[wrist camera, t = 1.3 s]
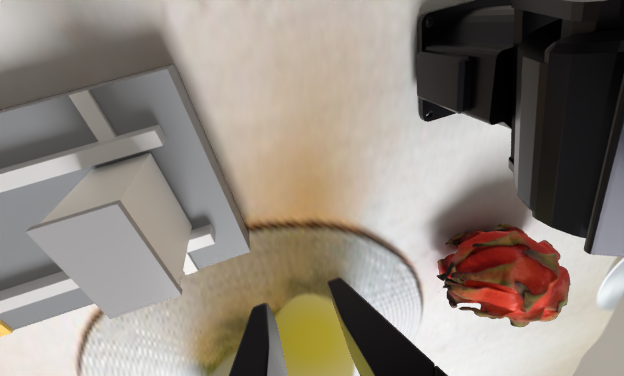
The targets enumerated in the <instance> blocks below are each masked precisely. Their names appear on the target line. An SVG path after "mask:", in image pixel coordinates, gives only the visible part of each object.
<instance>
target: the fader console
mask: <svg viewBox="0 0 624 376" xmlns="http://www.w3.org/2000/svg"><path fill="white" fill-rule="evenodd" d="M148 153H151V155H152V157H153V158H154V160H155V162H156V164H157V165H158V167H159V169H160V171H161V172H162V174H163V176H164V178H165V179H166V181H167V183H168V185H169V187H170V188H171V190H172V192H173V194H174V195H175V197H176V199H177V201H178V202H179V204H180V206H181V208H182V210H183V211H184V213H185V215H186V217H187V218H188V220H189V222H190V224H191V225H192V228H191V233H190V238H189V243H188V248H187V253H186V258H185V263H184V268H183V273H182V274H186V275H188V274H191V273H194V272H197V271H198V269H200V268H203V267H206V266H209V265H212V264H215V263H218V262H221V261H224V260H227V259H230V258H233V257H236V256H239V255H242V254H245V253H248V252H250V241H249V233H248V230H247V228H246V226H245V224H244V221H243V219H242V217H241V214H240V212H239V210H238V208H237V205H236V203H235V201H234V199H233V196H232V194H231V192H230V189H229V187H228V185H227V183H226V180H225V178H224V176H223V173H222V171H221V169H220V167H219V164H218V162H217V160H216V157H215V155H214V153H213V151H212V148H211V146H210V144H209V141H208V139H207V137H206V135H205V132H204V130H203V128H202V126H201V123H200V121H199V119H198V116H197V114H196V112H195V110H194V107H193V105H192V103H191V100H190V98H189V96H188V94H187V91H186V89H185V87H184V84H183V82H182V80H181V78H180V75H179V73H178V71H177V68H176V66H175V64H172V65H168V66H164V67H160V68H156V69H153V70H149V71H145V72H141V73H138V74H134V75H130V76H126V77H123V78H119V79H115V80H111V81H107V82H104V83H100V84H96V85H92V86H89V87H85V88H81V89H77V90H74V91H70V92H66V93H62V94H58V95H55V96H51V97H47V98H43V99H40V100H36V101H32V102H28V103H25V104H21V105H17V106H13V107H9V108H6V109H2V110H0V337H1V336H4V335H7V334H10V333H12V332H13V330H15V329H18V328H21V327H24V326H27V325H30V324H33V323H36V322H39V321H42V320H45V319H48V318H51V317H55V316H58V315H61V314H64V313H67V312H70V311H73V310H76V309H79V308H82V307H85V306H88V305H91V304H94V302H93V301H92V300H91V299H90V298H89V297H88V296H87V295H86V294H85V293H84V292H83V291H82V290H81V288H80V287H79V286H78V285H77V284H76V283H75V282H74V281H73V280H72V279H71V278H70V277H69V276H68V275H67V274H66V273H65V272H64V271H63V270H62V269H61V268H60V267H59V266H58V265H57V264H56V263H55V262H54V261H53V260H52V259H51V258H50V257H49V256H48V255H47V254H46V253H45V252H44V251H43V250H42V248H41V247H40V246H39V245H38V244H37V243H36V242H35V241H34V240H33V239H32V238H31V237H30V236H29V235H28V234H27V233H26V231H27V230H28V229H29V228H30V227H31V226H35V225H38V224H40V222H41V221H42V220H43V219H44V218H45V217H46V216H47V215H48V214H49V213H50V212H51V211H52V210H53V209H54V208H55V207H56V206H57V205H58V204H59V203H60V202H61V201H62V200H63V199H64V198H65V197H66V195H67V194H68V193H69V192H70V191H71V190H72V189H73V188H74V187H75V186H76V185H77V184H78V183H79V182H80V181H81V180H82V179H83V178H84V177H85V176H86V175H87V174H88V173H89V172H90V171H91V170H92V169H96V168H99V167H103V166H106V165H110V164H113V163H117V162H120V161H123V160H127V159H130V158H134V157H137V156H141V155H144V154H148Z"/></svg>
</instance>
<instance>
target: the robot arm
mask: <svg viewBox="0 0 624 376" xmlns="http://www.w3.org/2000/svg"><path fill="white" fill-rule="evenodd" d="M427 18H429V21H430V22H429V25H428V26H426V24H425V23H426V20H427ZM416 59H417V95H418V97H419V115H420V118H421V119H422V120H424V121H427V122H428V121H432V120H436V119H439V118H442V117H445V116H449V115H452V114H455V113H458V114H461V113H463V114H465V115H468V116H470V117H473V118H475V119H478V120H481V121H483V122H486V123H488V124H491V125H495V124H499V125H502V126H505V127H507V128H510V129H512V132H511V157H509V168H510V169H511V171H512V172H513V173H514V186H515V189H516V193H517V196H518V197H519V198H520V199H521V200H522V201H523V202H524V203H525V204H526V205H527V206H528V208H529V209H531V210H532V216H533V217H534V218H535V219H537V220H539V221H541V222H543V223H544V224H546V225H548V226H550V227H552V228H555V229H557V230H560V231H563V232H566V233H568V234H571V235H574V236H578V237H582V238H586V241H585V246H584V251H585V252H587V253H589V254H593V255H606V256H619V257H624V0H470V1H467V2H463V3H459V4H456V5H452V6H448V7H445V8H441V9H437V10H433V11H430V12H426V13H424V14H422V15H421V16H420V18H419V20H418V55H417V57H416ZM428 111H430V113H429V115H428V116H426V113H427V112H428ZM327 284H328V288H329V291H330V295H331V298H332V302H333V305H334V308H335V310H336V314H337V316H338V319H339V322H340V325H341V328H342V331H343V334H344V337H345V340H346V343H347V346H348V349H349V351H350V354H351V357H352V359H353V361H354V363H355V366H356V368H357V370H358V372H359V374H360V376H448V375H447V374H445V373H444V372H443V371H442V370H441V369H440V368H439V367H438V366H435V365H434V363H433V362H432V361H431V360H430V359H429V358H428V357H427V356H426V355H425V354H424V353H422V352H421V351H420V350H419V349H418V348H417V347H416V346H415V345H414V344H413V343H412V342H410V341H409V340H408V339H407V338H406V337H405V336H404V335H403V334H402V333H401V332H400V331H399V330H397V329H396V328H395V327H394V326H393V325H392V324H391V323H390V322H389V321H388V320H387V319H385V318H384V317H383V316H382V315H381V314H380V313H379V312H378V311H377V310H376V309H375V308H373V307H372V306H371V305H370V304H369V303H368V302H367V301H366V300H365V299H364V298H363V297H362V296H360V295H359V294H358V293H357V292H356V291H355V290H354V289H353V288H352V287H351V286H350V285H348V284H347V283H346V282H345V281H344V280H343V279H342V278H340V277H337V278H334V279H331V280H329V281H328V282H327ZM229 376H288V375H287V370H286V365H285V360H284V355H283V351H282V346H281V342H280V337H279V332H278V327H277V323H276V320H275V318H274V316H273V313H272V311H271V309H270V307H269V305H268V304H267V303H263V304H260V305H257V306H255V307H253V309H252V311H251V314H250V317H249V320H248V322H247V325H246V328H245V331H244V334H243V337H242V339H241V342H240V345H239V348H238V351H237V354H236V357H235V359H234V362H233V365H232V368H231V371H230V373H229Z"/></svg>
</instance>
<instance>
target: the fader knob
mask: <svg viewBox="0 0 624 376" xmlns="http://www.w3.org/2000/svg"><path fill="white" fill-rule="evenodd" d="M191 228H192V225H191V224H190V222H189V220H188V218H187V217H186V215H185V213H184V211H183V210H182V208H181V206H180V204H179V202H178V201H177V199H176V197H175V195H174V194H173V192H172V190H171V188H170V187H169V185H168V183H167V181H166V179H165V178H164V176H163V174H162V172H161V171H160V169H159V167H158V165H157V164H156V162H155V160H154V158H153V157H152V155H151V153H148V154H144V155H141V156H137V157H134V158H130V159H127V160H123V161H120V162H117V163H113V164H110V165H106V166H103V167H99V168H96V169H92V170H91V171H90V172H89V173H88V174H87V175H86V176H85V177H84V178H83V179H82V180H81V181H80V182H79V183H78V184H77V185H76V186H75V187H74V188H73V189H72V190H71V191H70V192H69V193H68V194H67V195H66V197H65V198H64V199H63V200H62V201H61V202H60V203H59V204H58V205H57V206H56V207H55V208H54V209H53V210H52V211H51V212H50V213H49V214H48V215H47V216H46V217H45V218H44V219H43V220H42V221H41V222H40V224H38V225H35V226H31V227H30V228H29V229H28V230H27V231H26V233H27V234H28V235H29V236H30V237H31V238H32V239H33V240H34V241H35V242H36V243H37V244H38V245H39V246H40V247H41V248H42V250H43V251H44V252H45V253H46V254H47V255H48V256H49V257H50V258H51V259H52V260H53V261H54V262H55V263H56V264H57V265H58V266H59V267H60V268H61V269H62V270H63V271H64V272H65V273H66V274H67V275H68V276H69V277H70V278H71V279H72V280H73V281H74V282H75V283H76V284H77V285H78V286H79V287H80V288H81V290H82V291H83V292H84V293H85V294H86V295H87V296H88V297H89V298H90V299H91V300H92V301H93V302H94V303H95V304H96V305H97V306H98V307H99V308H100V309H101V310H102V311H103V312H104V313H105V314H106V315H107V316H108V317H109V318H110V319H112V318H115V317H118V316H121V315H124V314H127V313H130V312H133V311H136V310H138V309H141V308H144V307H147V306H150V305H153V304H156V303H159V302H162V301H165V300H168V299H171V298H174V297H177V296H180V295H181V294H182V289H181V287H180V283H181V278H182V273H183V268H184V263H185V258H186V253H187V248H188V243H189V238H190V233H191Z"/></svg>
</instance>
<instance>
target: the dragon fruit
mask: <svg viewBox="0 0 624 376" xmlns="http://www.w3.org/2000/svg"><path fill="white" fill-rule="evenodd" d="M502 225H503V226H502ZM446 244H454V245H456V246H458V250H457V252H456V254H450V255H448V256H447V257H446V258H445V259H442V260H438V269H439V274H440V275H437V277H438V278H439V279H441V280H442V281H444V280H445V286H443V288H448V290H447V299H448V300H449V304H450V306H451V307H452V308H456V307H457V304H458V303H479V304H481V309H480V310H479V309H477V308H471V307H461V308H459V309H460V310H472V311H474V313H475V314H476V315H477V316H480V317H489V318H491V319H496V318H498V319H501V318H504V317H508V318H509V319H510V322H511V325H512V326H516V327H524V326H526V325H528V324H529V322H530V321H542V322H546V321H551V320H553V319H556V318H557V316H558V315H559V313H560V312H561V308H562V307H563V306H565V305H567V301H568V292H569V286H570V277H569V273H568V271H567V269H566V268H564V267H562V266H559V263H558V260H559V259H560V254H559V253H558V251H556V250H555V249H554V248H553V246H552V245H551V244H549V243H548V242H547V241H546V240H544V241H541V242H539V243H537V242H536V241H534V240H533V239H531V238H530V237H528V235H527V234H525V233H524V231H522V230H520V229H518V228H517V227H513V226H510V225H507V224H499V225H498V227H497V231H490V232H482V231H474V232H471V233H468V232H464V233H462V234H460V235H457V236H455V237H453V238H452V239H451V240H449V241H448V242H447V243H446ZM439 292H440V291H439ZM439 292H438V293H439Z"/></svg>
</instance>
